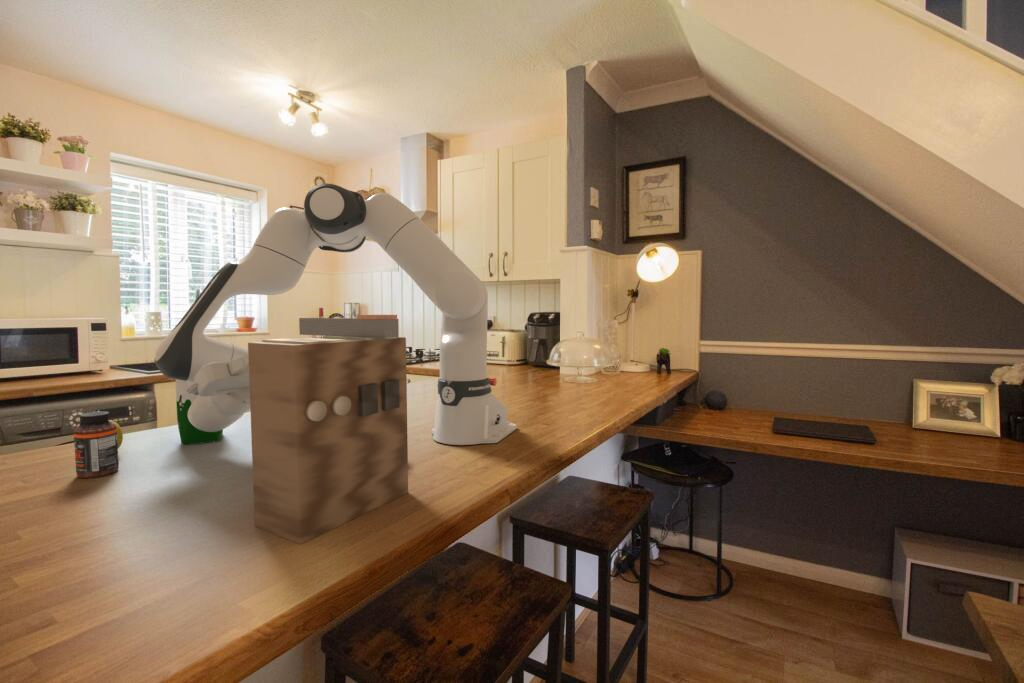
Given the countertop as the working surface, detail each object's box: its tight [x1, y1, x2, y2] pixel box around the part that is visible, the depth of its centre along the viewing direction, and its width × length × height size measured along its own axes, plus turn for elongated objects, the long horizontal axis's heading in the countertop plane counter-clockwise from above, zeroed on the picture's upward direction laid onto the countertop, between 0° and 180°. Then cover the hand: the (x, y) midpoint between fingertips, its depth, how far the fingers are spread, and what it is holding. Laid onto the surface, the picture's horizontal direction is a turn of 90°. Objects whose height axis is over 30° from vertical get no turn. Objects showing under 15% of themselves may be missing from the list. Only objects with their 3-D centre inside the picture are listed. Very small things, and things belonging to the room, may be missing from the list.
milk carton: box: [175, 379, 224, 445], centre depth 109 cm, size 9×9×20 cm
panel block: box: [247, 336, 409, 545], centre depth 71 cm, size 20×11×26 cm, turn 150°
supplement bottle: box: [73, 410, 120, 479], centre depth 87 cm, size 6×6×11 cm
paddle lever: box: [298, 314, 400, 338], centre depth 76 cm, size 4×20×3 cm, turn 60°
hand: (278, 354), depth 85 cm, fingers open, 8 cm apart
